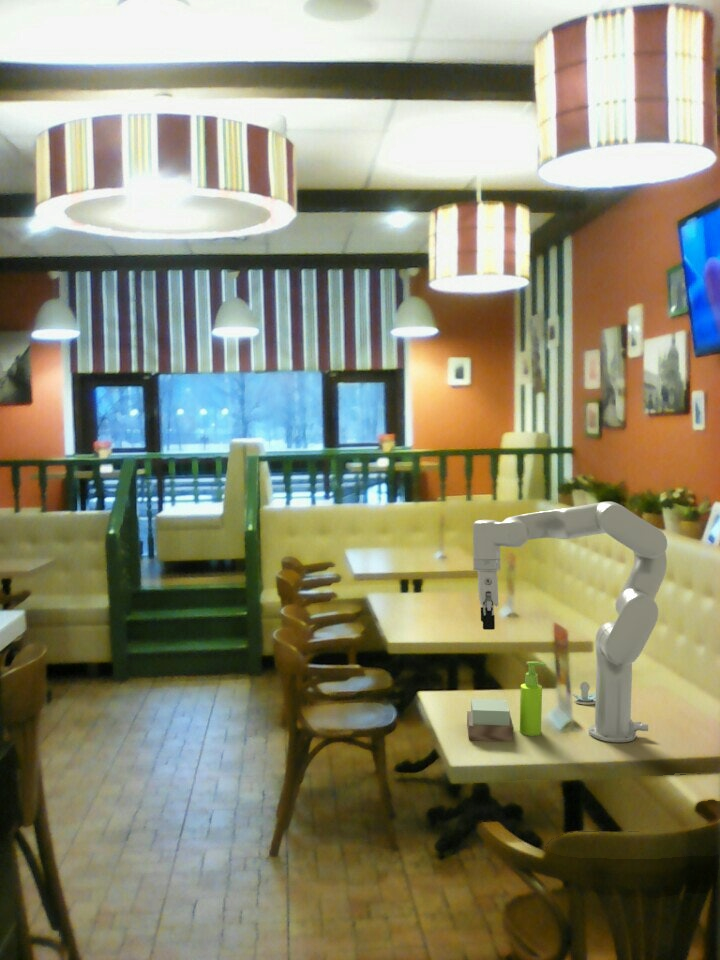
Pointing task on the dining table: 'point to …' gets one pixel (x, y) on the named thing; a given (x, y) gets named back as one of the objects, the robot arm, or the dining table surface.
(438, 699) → the dining table surface
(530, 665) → the soap dispenser
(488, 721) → the pale green square tile
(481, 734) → the riser base
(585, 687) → the pacifier
